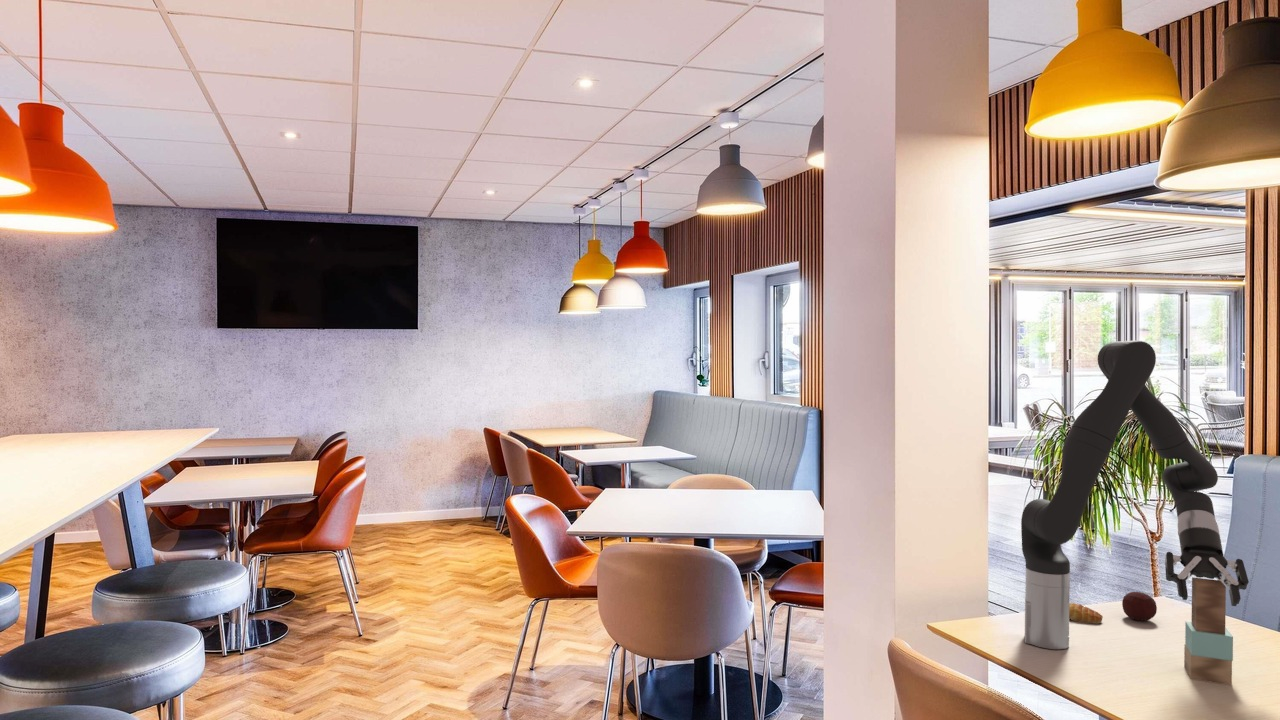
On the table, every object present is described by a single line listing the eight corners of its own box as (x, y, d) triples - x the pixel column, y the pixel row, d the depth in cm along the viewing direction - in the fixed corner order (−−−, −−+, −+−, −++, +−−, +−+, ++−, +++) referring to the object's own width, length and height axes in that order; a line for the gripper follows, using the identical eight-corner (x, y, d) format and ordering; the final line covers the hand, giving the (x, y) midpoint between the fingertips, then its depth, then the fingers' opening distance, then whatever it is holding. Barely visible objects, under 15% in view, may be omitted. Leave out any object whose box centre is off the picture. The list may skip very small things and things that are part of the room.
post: (1195, 630, 164) (1196, 583, 164) (1191, 623, 168) (1192, 577, 168) (1225, 634, 162) (1225, 586, 162) (1219, 627, 166) (1220, 580, 166)
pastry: (1104, 620, 201) (1104, 605, 201) (1099, 627, 195) (1099, 612, 195) (1063, 612, 207) (1064, 598, 207) (1057, 619, 202) (1057, 604, 202)
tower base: (1190, 679, 164) (1190, 655, 164) (1184, 667, 170) (1184, 644, 170) (1231, 685, 161) (1231, 661, 161) (1223, 673, 167) (1224, 649, 167)
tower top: (1191, 655, 164) (1191, 631, 164) (1185, 644, 170) (1185, 621, 170) (1232, 661, 161) (1233, 636, 161) (1224, 649, 167) (1224, 626, 167)
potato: (1132, 613, 206) (1132, 586, 206) (1163, 622, 199) (1163, 594, 199) (1115, 617, 203) (1115, 590, 203) (1145, 626, 196) (1146, 598, 196)
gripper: (1163, 522, 175) (1171, 587, 165) (1241, 529, 169) (1255, 596, 158) (1158, 541, 180) (1166, 605, 169) (1235, 548, 173) (1248, 615, 163)
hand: (1209, 601), depth 164 cm, fingers open, 8 cm apart
